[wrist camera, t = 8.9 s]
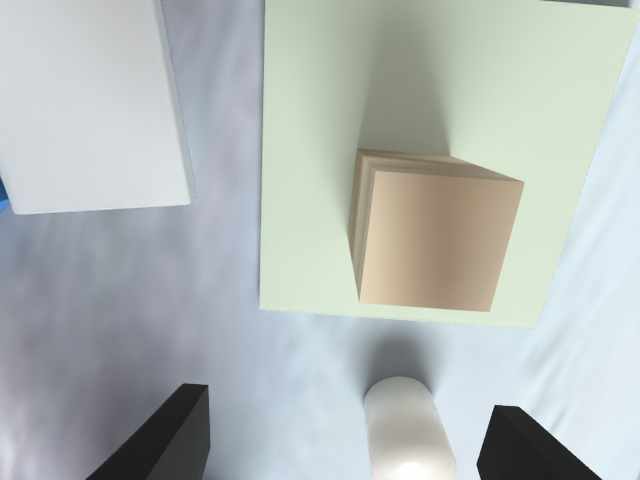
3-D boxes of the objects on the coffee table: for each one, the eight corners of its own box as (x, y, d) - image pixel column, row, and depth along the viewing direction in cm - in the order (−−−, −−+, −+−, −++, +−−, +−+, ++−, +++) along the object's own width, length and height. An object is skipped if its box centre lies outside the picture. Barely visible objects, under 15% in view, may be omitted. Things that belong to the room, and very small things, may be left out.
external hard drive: (37, 206, 17) (-74, -119, 13) (202, 197, 17) (142, -139, 13) (9, 215, 16) (-127, -148, 12) (190, 205, 16) (117, -172, 11)
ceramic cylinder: (360, 428, 21) (368, 497, 18) (365, 374, 20) (374, 436, 16) (427, 431, 21) (449, 500, 18) (437, 377, 20) (463, 440, 16)
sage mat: (261, 303, 18) (259, 309, 18) (268, -18, 14) (265, -23, 13) (529, 323, 19) (535, 329, 18) (629, 13, 14) (642, 8, 13)
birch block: (347, 237, 16) (359, 303, 11) (356, 148, 15) (375, 171, 9) (433, 243, 16) (489, 312, 11) (450, 155, 15) (524, 181, 9)
